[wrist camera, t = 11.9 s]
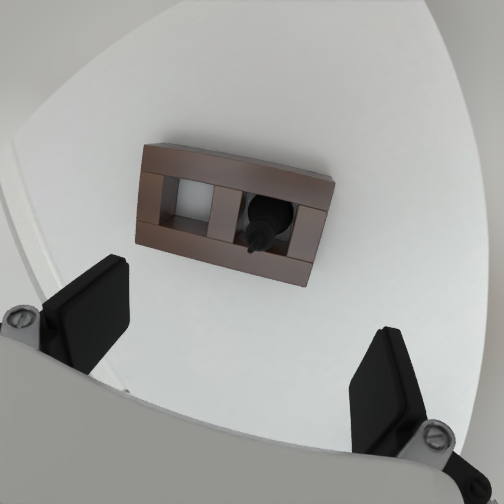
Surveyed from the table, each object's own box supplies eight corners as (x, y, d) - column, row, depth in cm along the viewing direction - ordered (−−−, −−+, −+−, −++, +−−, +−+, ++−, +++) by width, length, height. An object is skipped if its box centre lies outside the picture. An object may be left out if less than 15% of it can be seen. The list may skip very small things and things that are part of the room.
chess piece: (239, 217, 31) (210, 253, 22) (265, 181, 29) (245, 202, 20) (275, 242, 31) (262, 289, 22) (302, 208, 29) (300, 242, 20)
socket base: (162, 142, 29) (143, 144, 26) (331, 177, 28) (335, 182, 24) (152, 231, 33) (134, 243, 29) (306, 270, 32) (306, 288, 28)
